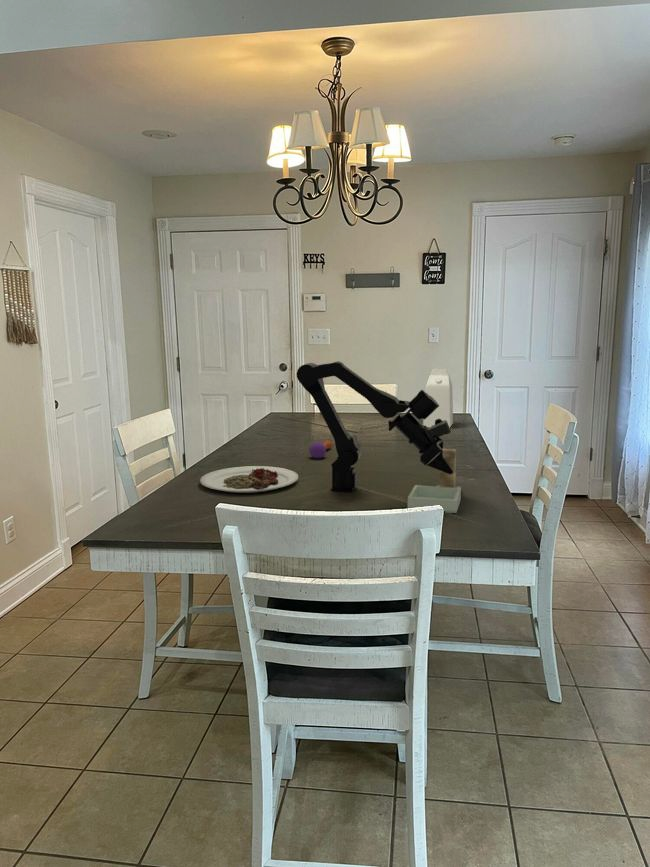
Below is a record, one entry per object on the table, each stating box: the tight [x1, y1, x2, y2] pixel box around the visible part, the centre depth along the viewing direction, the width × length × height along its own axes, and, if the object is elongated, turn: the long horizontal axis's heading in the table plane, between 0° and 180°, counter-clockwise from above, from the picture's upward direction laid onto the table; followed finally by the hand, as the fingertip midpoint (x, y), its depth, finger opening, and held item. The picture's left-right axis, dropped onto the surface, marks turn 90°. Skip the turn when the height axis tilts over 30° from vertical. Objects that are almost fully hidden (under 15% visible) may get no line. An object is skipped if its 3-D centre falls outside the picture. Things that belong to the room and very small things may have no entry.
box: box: [407, 484, 462, 514], centre depth 175 cm, size 13×13×4 cm
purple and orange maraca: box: [308, 440, 333, 460], centre depth 241 cm, size 6×6×20 cm
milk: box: [422, 368, 454, 428], centre depth 294 cm, size 12×12×26 cm
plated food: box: [199, 465, 299, 494], centre depth 201 cm, size 30×30×3 cm
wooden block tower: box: [436, 448, 462, 489], centre depth 186 cm, size 7×7×12 cm
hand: (452, 469), depth 186 cm, fingers open, 9 cm apart
